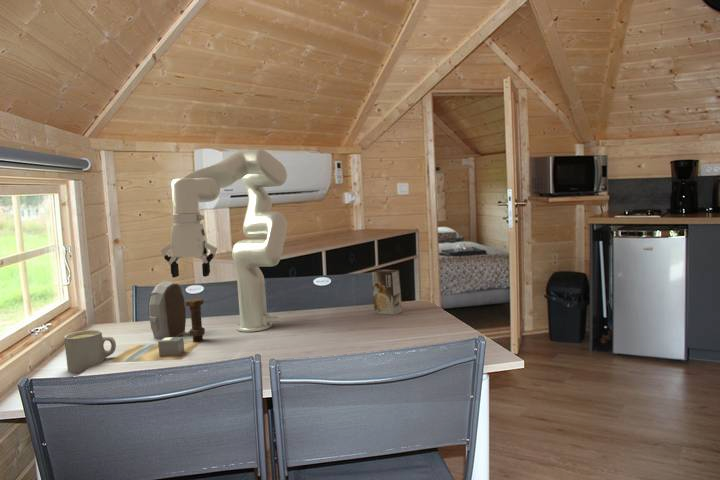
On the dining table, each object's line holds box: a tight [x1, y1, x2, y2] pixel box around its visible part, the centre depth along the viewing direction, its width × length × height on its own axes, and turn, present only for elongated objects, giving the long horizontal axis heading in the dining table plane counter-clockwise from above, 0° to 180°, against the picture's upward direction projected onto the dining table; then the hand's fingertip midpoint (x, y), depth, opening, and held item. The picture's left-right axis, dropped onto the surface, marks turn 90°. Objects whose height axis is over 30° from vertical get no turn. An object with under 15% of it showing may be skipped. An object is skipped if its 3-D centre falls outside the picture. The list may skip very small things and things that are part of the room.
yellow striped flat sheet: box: [107, 341, 202, 363], centre depth 179 cm, size 22×18×2 cm
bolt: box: [185, 297, 206, 343], centre depth 189 cm, size 6×5×15 cm
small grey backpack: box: [147, 280, 187, 340], centre depth 201 cm, size 15×8×20 cm, turn 163°
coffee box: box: [371, 268, 403, 316], centre depth 220 cm, size 9×6×16 cm
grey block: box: [157, 336, 185, 357], centre depth 176 cm, size 6×4×5 cm
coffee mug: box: [63, 329, 117, 374], centre depth 173 cm, size 13×10×10 cm
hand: (190, 276), depth 176 cm, fingers open, 9 cm apart
